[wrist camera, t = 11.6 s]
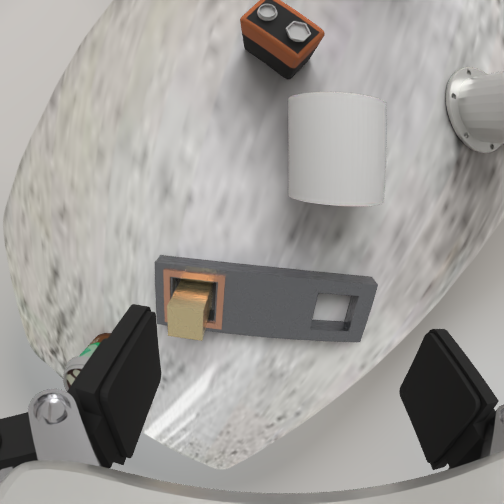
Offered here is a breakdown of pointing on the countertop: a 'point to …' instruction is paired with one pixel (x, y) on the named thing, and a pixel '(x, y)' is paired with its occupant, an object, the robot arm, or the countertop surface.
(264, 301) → the rail
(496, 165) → the countertop surface
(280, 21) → the battery
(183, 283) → the tan wooden block
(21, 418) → the robot arm
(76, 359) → the food container
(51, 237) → the countertop surface
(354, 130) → the toilet paper
